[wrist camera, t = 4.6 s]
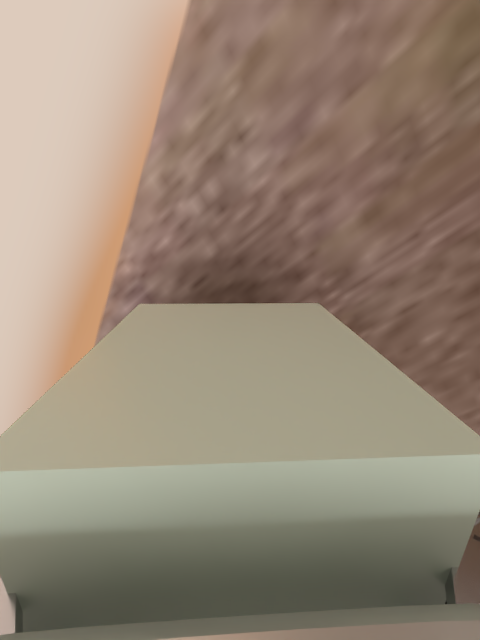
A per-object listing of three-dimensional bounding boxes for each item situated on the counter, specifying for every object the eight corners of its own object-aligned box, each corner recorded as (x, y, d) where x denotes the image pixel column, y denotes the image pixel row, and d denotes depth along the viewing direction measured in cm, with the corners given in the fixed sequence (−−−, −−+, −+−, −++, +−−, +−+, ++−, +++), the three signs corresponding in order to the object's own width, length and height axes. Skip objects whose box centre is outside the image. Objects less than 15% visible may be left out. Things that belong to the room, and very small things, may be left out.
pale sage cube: (304, 445, 15) (403, 716, 7) (154, 450, 15) (65, 746, 6) (318, 303, 13) (500, 453, 4) (139, 303, 12) (-39, 472, 4)
